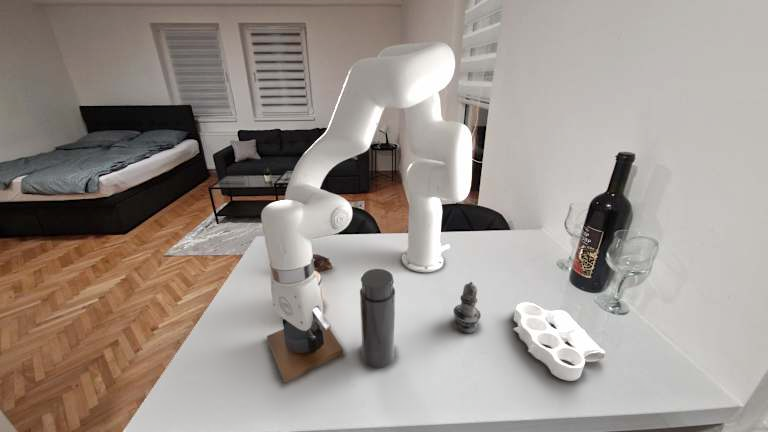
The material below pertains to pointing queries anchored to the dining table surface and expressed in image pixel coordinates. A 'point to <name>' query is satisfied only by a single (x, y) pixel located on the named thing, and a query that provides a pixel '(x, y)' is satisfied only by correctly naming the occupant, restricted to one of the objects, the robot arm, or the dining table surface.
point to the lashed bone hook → (321, 263)
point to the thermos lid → (296, 338)
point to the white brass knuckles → (556, 340)
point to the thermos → (377, 317)
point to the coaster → (302, 355)
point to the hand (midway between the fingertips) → (304, 338)
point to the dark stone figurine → (467, 311)
